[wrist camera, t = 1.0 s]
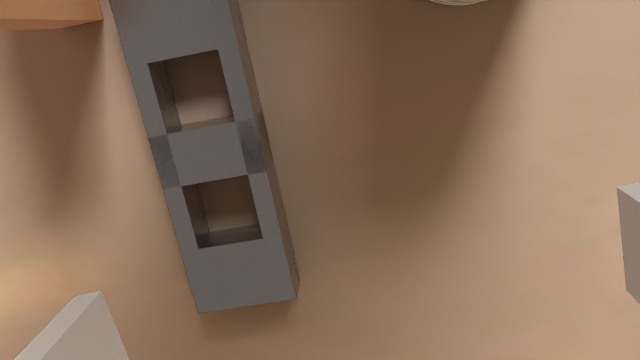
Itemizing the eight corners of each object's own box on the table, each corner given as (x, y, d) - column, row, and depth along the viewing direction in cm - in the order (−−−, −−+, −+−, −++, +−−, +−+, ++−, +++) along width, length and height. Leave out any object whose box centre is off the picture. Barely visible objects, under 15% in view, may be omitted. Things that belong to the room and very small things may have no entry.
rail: (125, -11, 35) (105, -13, 32) (230, -34, 34) (218, -38, 32) (208, 292, 41) (198, 313, 38) (299, 279, 40) (295, 299, 37)
